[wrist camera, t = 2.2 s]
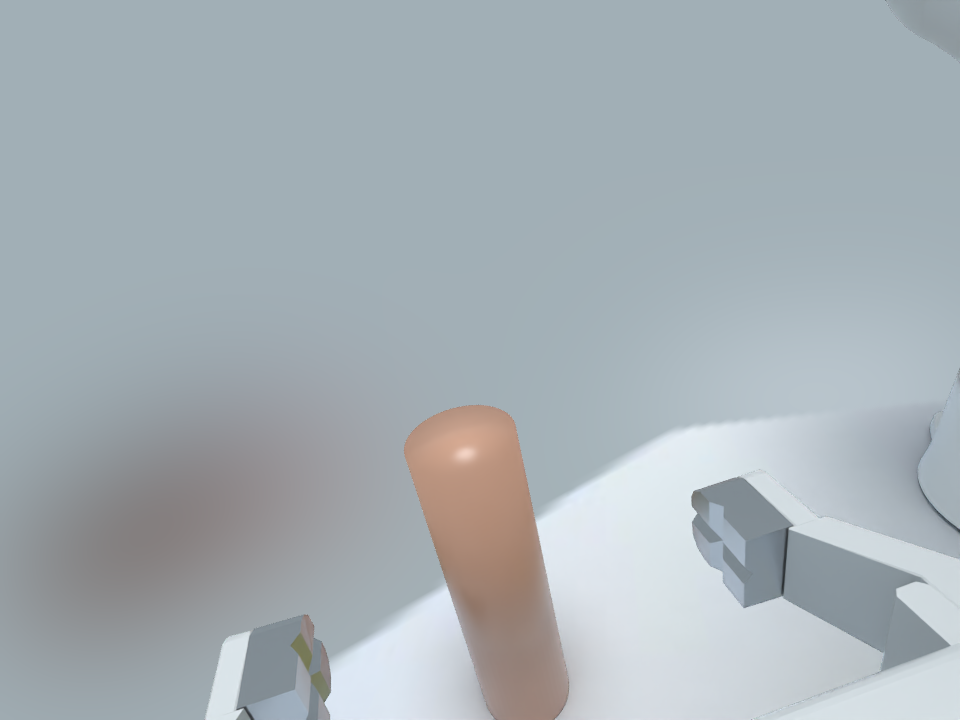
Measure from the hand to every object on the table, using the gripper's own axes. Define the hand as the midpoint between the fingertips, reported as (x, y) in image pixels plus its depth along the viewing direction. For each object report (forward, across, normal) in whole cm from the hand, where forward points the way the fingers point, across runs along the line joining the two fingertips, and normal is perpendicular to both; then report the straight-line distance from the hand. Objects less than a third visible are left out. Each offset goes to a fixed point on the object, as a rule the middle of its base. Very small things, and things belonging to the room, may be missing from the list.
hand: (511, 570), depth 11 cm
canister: (+12, 0, +23) cm, 26 cm away
